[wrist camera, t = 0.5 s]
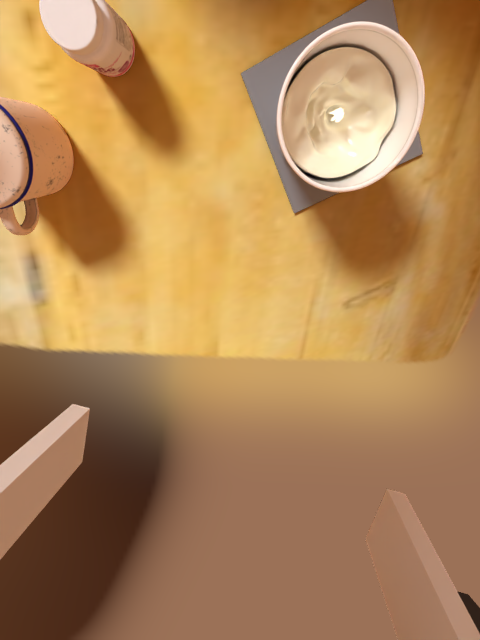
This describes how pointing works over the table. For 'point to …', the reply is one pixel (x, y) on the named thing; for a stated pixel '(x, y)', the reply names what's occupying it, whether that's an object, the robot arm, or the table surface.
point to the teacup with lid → (30, 160)
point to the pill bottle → (90, 34)
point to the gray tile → (268, 83)
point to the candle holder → (350, 107)
